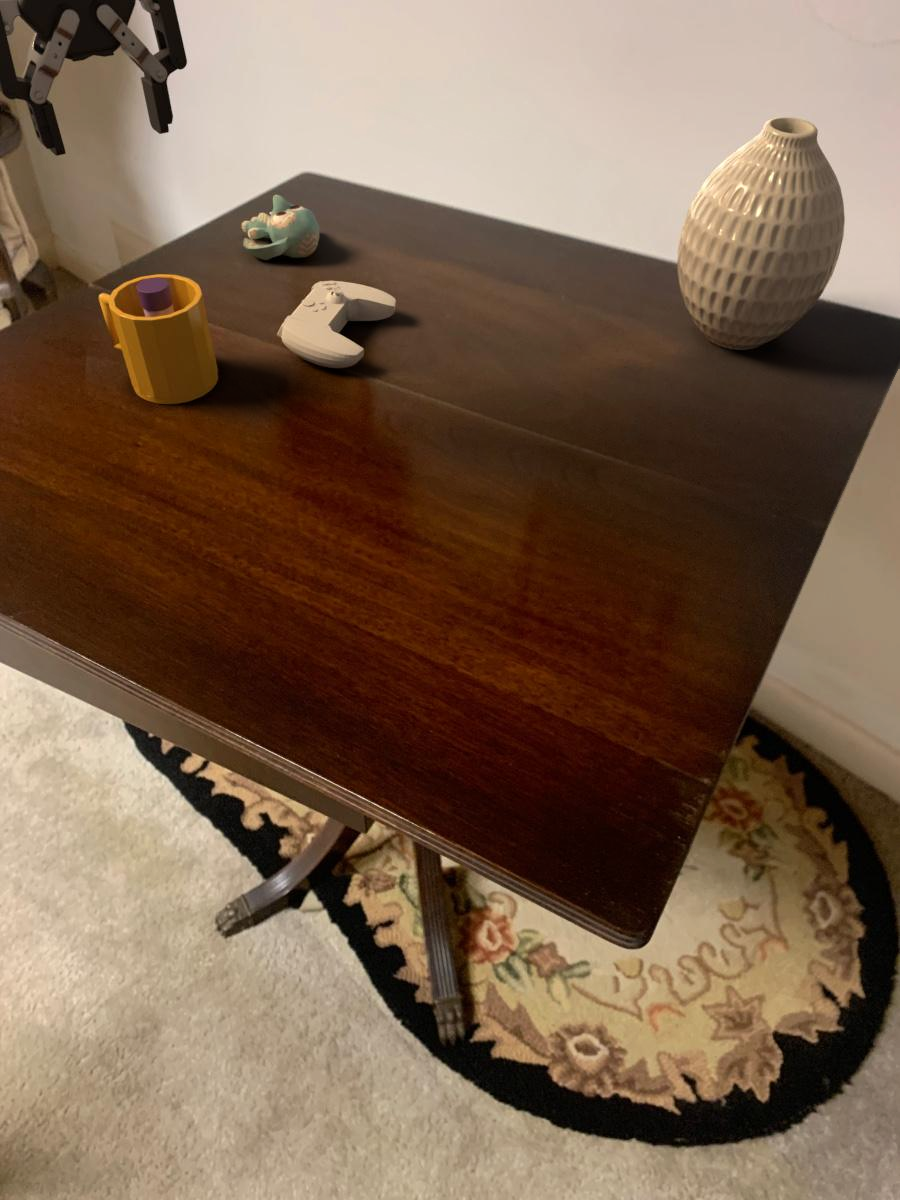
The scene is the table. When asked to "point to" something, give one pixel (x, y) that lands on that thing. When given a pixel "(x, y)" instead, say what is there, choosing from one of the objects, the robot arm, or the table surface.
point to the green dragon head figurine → (282, 231)
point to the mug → (163, 341)
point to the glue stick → (155, 297)
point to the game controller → (333, 322)
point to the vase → (761, 237)
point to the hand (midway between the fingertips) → (109, 141)
